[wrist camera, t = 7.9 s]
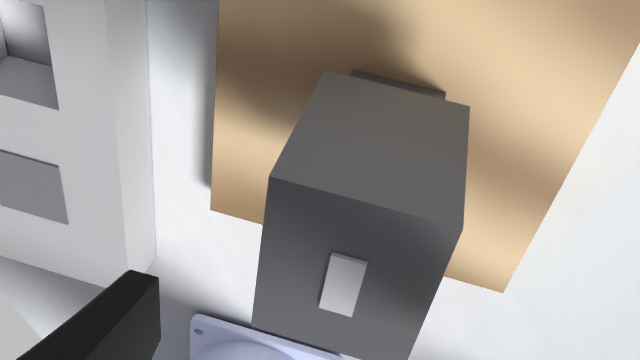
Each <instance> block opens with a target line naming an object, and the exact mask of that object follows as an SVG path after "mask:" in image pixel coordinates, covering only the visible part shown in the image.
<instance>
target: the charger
mask: <svg viewBox="0 0 640 360" xmlns="http://www.w3.org/2000/svg"><path fill="white" fill-rule="evenodd" d="M445 98H446V92H442V91H438V90H434V89H430V88H426V87H422V86H418V85H414V84H410V83H406V82H402V81H398V80H394V79H390V78H386V77H382V76H378V75H374V74H370V73H366V72H362V71H358V70H354V69H352V72H351V74H350V76H348V75H344V74H340V73H336V72H332V71H328V70H324V72H323V74H322V76H321V78H320V80H319V82H318V84H317V86H316V88H315V89H314V91H313V93H312V95H311V97H310V99H309V101H308V103H307V105H306V106H305V108H304V110H303V112H302V114H301V116H300V118H299V120H298V122H297V123H296V125H295V127H294V129H293V131H292V133H291V135H290V137H289V139H288V141H287V142H286V144H285V146H284V148H283V150H282V152H281V154H280V156H279V158H278V159H277V161H276V163H275V165H274V167H273V169H272V171H271V173H270V175H269V179H268V187H267V195H266V204H265V212H264V221H263V229H262V238H261V246H260V254H259V263H258V271H257V280H256V288H255V297H254V305H253V313H252V322H251V326H252V327H255V328H258V329H262V330H265V331H268V332H272V333H275V334H278V335H282V336H285V337H288V338H292V339H295V340H298V341H302V342H305V343H308V344H312V345H315V346H318V347H322V348H325V349H328V350H332V351H335V352H338V353H342V354H345V355H348V356H352V357H355V358H358V359H362V360H408V357H409V355H410V353H411V350H412V348H413V346H414V343H415V341H416V339H417V336H418V334H419V332H420V329H421V327H422V325H423V322H424V320H425V317H426V315H427V313H428V310H429V308H430V306H431V303H432V301H433V299H434V296H435V294H436V292H437V289H438V287H439V285H440V282H441V280H442V278H443V275H444V273H445V271H446V268H447V266H448V264H449V261H450V259H451V257H452V254H453V252H454V249H455V247H456V245H457V242H458V240H459V238H460V235H461V233H462V231H463V225H464V207H465V189H466V171H467V154H468V136H469V118H470V106H467V105H463V104H459V103H455V102H451V101H447V100H445Z"/></svg>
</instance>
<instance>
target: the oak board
mask: <svg viewBox="0 0 640 360" xmlns="http://www.w3.org/2000/svg"><path fill="white" fill-rule="evenodd" d="M639 43H640V0H219V14H218V38H217V62H216V86H215V110H214V134H213V158H212V182H211V206H210V210H213V211H216V212H220V213H223V214H227V215H230V216H234V217H237V218H241V219H244V220H248V221H251V222H255V223H258V224H262V225H263V221H264V212H265V204H266V195H267V187H268V179H269V175H270V173H271V171H272V169H273V167H274V165H275V163H276V161H277V159H278V158H279V156H280V154H281V152H282V150H283V148H284V146H285V144H286V142H287V141H288V139H289V137H290V135H291V133H292V131H293V129H294V127H295V125H296V123H297V122H298V120H299V118H300V116H301V114H302V112H303V110H304V108H305V106H306V105H307V103H308V101H309V99H310V97H311V95H312V93H313V91H314V89H315V88H316V86H317V84H318V82H319V80H320V78H321V76H322V74H323V72H324V70H328V71H332V72H336V73H340V74H344V75H348V76H350V74H351V72H352V69H354V70H358V71H362V72H366V73H370V74H374V75H378V76H382V77H386V78H390V79H394V80H398V81H402V82H406V83H410V84H414V85H418V86H422V87H426V88H430V89H434V90H438V91H442V92H446V98H445V100H447V101H451V102H455V103H459V104H463V105H467V106H470V118H469V136H468V154H467V171H466V189H465V207H464V225H463V231H462V233H461V235H460V238H459V240H458V242H457V245H456V247H455V249H454V252H453V254H452V257H451V259H450V261H449V264H448V266H447V268H446V271H445V273H444V275H443V276H445V277H448V278H452V279H455V280H459V281H463V282H466V283H470V284H473V285H477V286H480V287H484V288H487V289H491V290H494V291H498V292H501V293H503V292H504V290H505V288H506V286H507V285H508V283H509V281H510V279H511V277H512V275H513V274H514V272H515V270H516V268H517V266H518V264H519V263H520V261H521V259H522V257H523V255H524V254H525V252H526V250H527V248H528V246H529V244H530V243H531V241H532V239H533V237H534V235H535V233H536V232H537V230H538V228H539V226H540V224H541V222H542V221H543V219H544V217H545V215H546V213H547V211H548V210H549V208H550V206H551V204H552V202H553V200H554V199H555V197H556V195H557V193H558V191H559V189H560V188H561V186H562V184H563V182H564V180H565V178H566V177H567V175H568V173H569V171H570V169H571V167H572V166H573V164H574V162H575V160H576V158H577V156H578V155H579V153H580V151H581V149H582V147H583V145H584V144H585V142H586V140H587V138H588V136H589V134H590V133H591V131H592V129H593V127H594V125H595V123H596V122H597V120H598V118H599V116H600V114H601V112H602V111H603V109H604V107H605V105H606V103H607V101H608V100H609V98H610V96H611V94H612V92H613V90H614V89H615V87H616V85H617V83H618V81H619V79H620V78H621V76H622V74H623V72H624V70H625V69H626V67H627V65H628V63H629V61H630V59H631V58H632V56H633V54H634V52H635V50H636V48H637V47H638V45H639Z"/></svg>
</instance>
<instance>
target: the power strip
mask: <svg viewBox="0 0 640 360" xmlns="http://www.w3.org/2000/svg"><path fill="white" fill-rule="evenodd" d="M21 1H25V2H28V3H32V4H36V5H40V6H43V11H44V17H45V23H46V29H47V36H48V42H49V48H50V54H51V61H52V67H51V66H47V65H44V64H40V63H36V62H32V61H29V60H25V59H21V58H17V57H14V56H10V55H8V53H7V48H6V43H5V39H4V34H3V29H2V24H1V20H0V256H2V257H5V258H8V259H12V260H15V261H18V262H22V263H25V264H28V265H31V266H35V267H38V268H41V269H45V270H48V271H51V272H55V273H58V274H61V275H64V276H68V277H71V278H74V279H78V280H81V281H84V282H88V283H91V284H94V285H97V286H101V287H104V288H107V287H109V286H110V285H111V284H112V283H113V282H114V281H116V280H117V279H118V278H119V277H120V276H121V275H123V274H124V273H125V272H126V271H128V270H130V269H131V270H135V271H138V272H141V273H146V271H147V270H148V268H149V267H150V265H151V264H152V262H153V261H154V259H155V258H156V241H155V217H154V193H153V169H152V145H151V121H150V97H149V73H148V49H147V25H146V1H145V0H21Z"/></svg>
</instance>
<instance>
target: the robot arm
mask: <svg viewBox="0 0 640 360" xmlns="http://www.w3.org/2000/svg"><path fill="white" fill-rule="evenodd" d="M160 339H161V328H160V302H159V278H158V277H155V276H151V275H148V274H145V273H141V272H138V271H135V270H131V269H130V270H128V271H126V272H125V273H124V274H123V275H121V276H120V277H119V278H118V279H117V280H116V281H114V282H113V283H112V284H111V285H110V286H109V287H107V288H106V289H105V290H104V291H103V292H102V293H100V294H99V295H98V296H97V297H96V298H94V299H93V300H92V301H91V302H90V303H88V304H87V305H86V306H85V307H83V308H82V309H81V310H80V311H79V312H77V313H76V314H75V315H74V316H72V317H71V318H70V319H69V320H67V321H66V322H65V323H64V324H62V325H61V326H60V327H58V328H57V329H56V330H55V331H53V332H52V333H51V334H49V335H48V336H47V337H45V338H44V339H43V340H42V341H40V342H39V343H38V344H36V345H35V346H34V347H32V348H31V349H30V350H29V351H27V352H26V353H24V354H23V355H22V356H20V357H19V358H17V359H16V360H151V359H152V357H153V354H154V352H155V350H156V348H157V346H158V343H159V341H160ZM189 360H342V359H341V358H340V357H339V356H337V355H335V354H331V353H328V352H325V351H321V350H318V349H315V348H311V347H308V346H305V345H302V344H298V343H295V342H292V341H288V340H285V339H282V338H278V337H275V336H272V335H268V334H265V333H262V332H259V331H255V330H252V329H249V328H245V327H242V326H239V325H235V324H232V323H229V322H226V321H222V320H219V319H216V318H212V317H209V316H206V315H202V314H195V315H194V316H193V317H192V319H191V321H190V358H189Z"/></svg>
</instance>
